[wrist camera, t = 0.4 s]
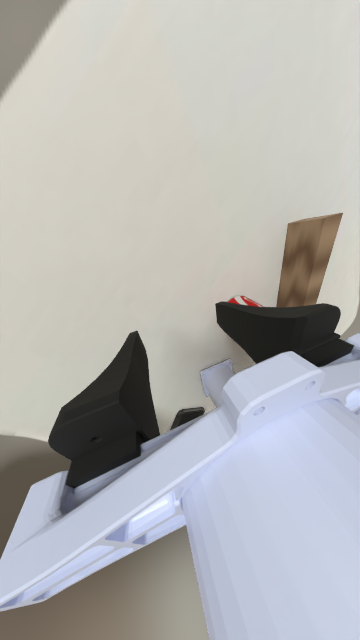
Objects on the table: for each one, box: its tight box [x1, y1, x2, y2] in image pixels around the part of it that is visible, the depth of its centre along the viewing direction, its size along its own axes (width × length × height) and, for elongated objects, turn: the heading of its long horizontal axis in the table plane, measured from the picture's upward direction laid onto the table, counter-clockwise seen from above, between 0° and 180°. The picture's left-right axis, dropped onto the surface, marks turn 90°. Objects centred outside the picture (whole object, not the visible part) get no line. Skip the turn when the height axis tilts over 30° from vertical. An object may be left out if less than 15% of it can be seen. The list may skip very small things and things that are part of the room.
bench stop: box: [277, 213, 343, 307], centre depth 26 cm, size 24×3×5 cm, turn 13°
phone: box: [170, 407, 205, 430], centre depth 40 cm, size 8×1×15 cm
